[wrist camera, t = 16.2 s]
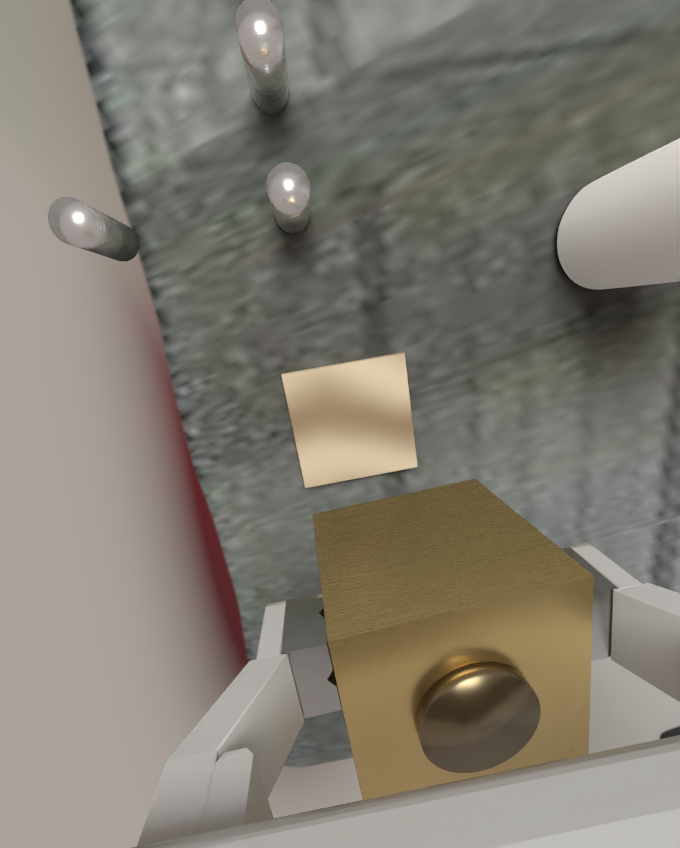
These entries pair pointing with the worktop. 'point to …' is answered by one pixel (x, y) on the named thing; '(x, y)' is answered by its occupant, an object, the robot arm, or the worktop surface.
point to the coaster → (351, 419)
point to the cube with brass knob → (453, 637)
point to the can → (625, 225)
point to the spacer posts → (270, 93)
